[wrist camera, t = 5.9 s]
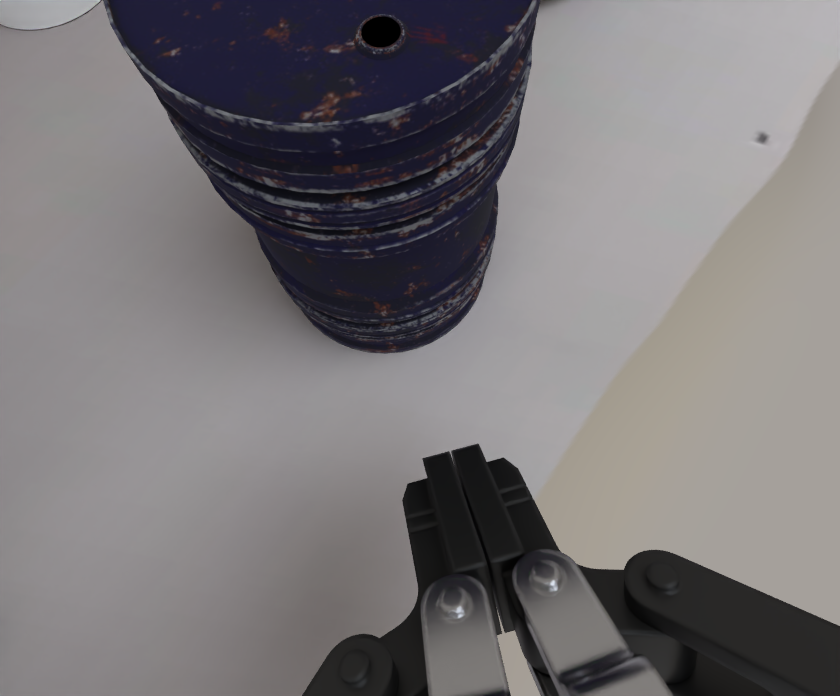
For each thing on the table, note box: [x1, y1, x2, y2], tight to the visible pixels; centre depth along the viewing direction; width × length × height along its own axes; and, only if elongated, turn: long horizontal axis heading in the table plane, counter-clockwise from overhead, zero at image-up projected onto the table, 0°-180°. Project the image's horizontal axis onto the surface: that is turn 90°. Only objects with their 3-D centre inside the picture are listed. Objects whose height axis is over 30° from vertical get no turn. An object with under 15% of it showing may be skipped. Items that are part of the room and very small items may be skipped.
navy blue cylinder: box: [103, 0, 540, 353], centre depth 18 cm, size 10×10×15 cm
